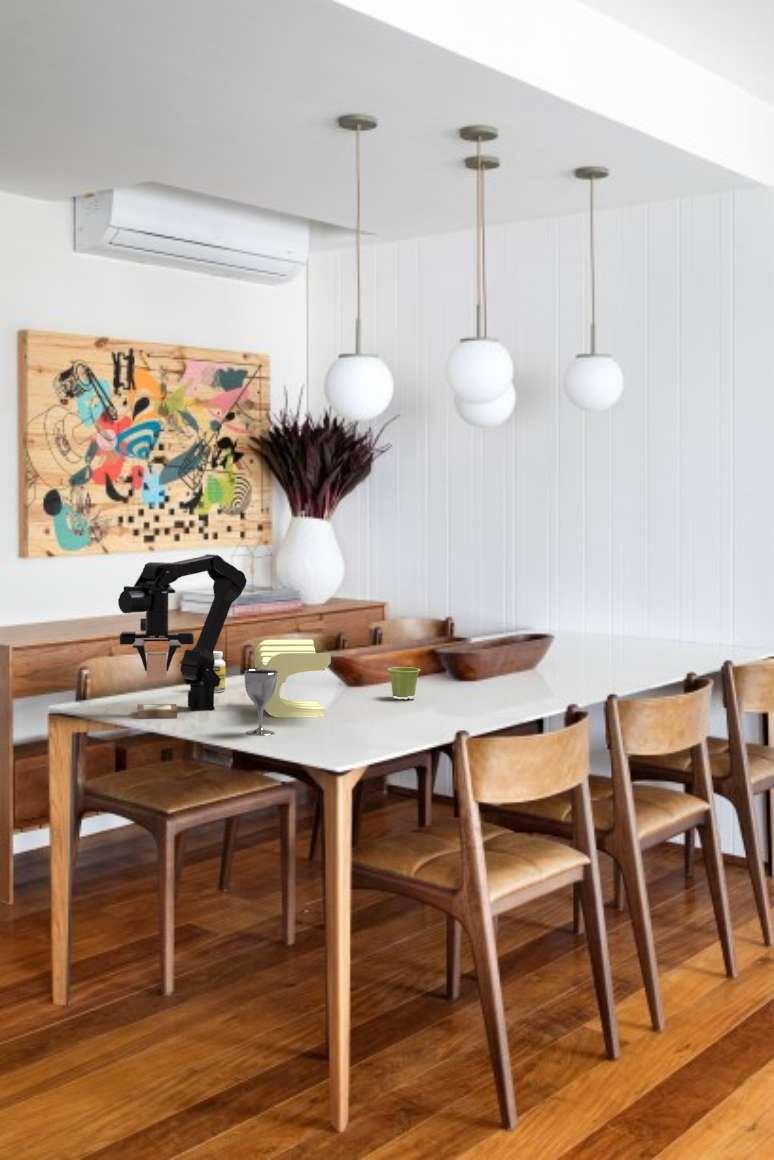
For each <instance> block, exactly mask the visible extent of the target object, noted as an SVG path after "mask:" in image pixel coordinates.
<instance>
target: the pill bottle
mask: <svg viewBox="0 0 774 1160" xmlns="http://www.w3.org/2000/svg"><path fill="white" fill-rule="evenodd" d="M213 654H214V661H215V664H214V668H213V670H214V672H215V673H216V674H217V675H218V676H219V678H220V679H221V680H220V684H219V686H218V687H214V694H215V693H216V694H218V693H219V692H220V693H224V692H225V691H226V662H225V661H224V660H223V659H222V658H223V654H224V653H223V651H221V650H220V651H218V650H214V652H213Z"/></svg>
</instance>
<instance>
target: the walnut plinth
mask: <svg viewBox="0 0 774 1160" xmlns="http://www.w3.org/2000/svg"><path fill="white" fill-rule="evenodd" d="M136 711H137V713H136V715H137V717H136V718H137V719H178V706H177V704H176V703H151V704H150V703H148V704H147V703H145V704H144V703H141V704H137V709H136Z"/></svg>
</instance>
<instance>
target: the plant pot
mask: <svg viewBox="0 0 774 1160" xmlns="http://www.w3.org/2000/svg"><path fill="white" fill-rule="evenodd" d="M387 671H388V673H389V677H390V683H391V693H392V697H393V696H397V697H408V696H414V695H415V696H416V691H417V690H416V689H417V682H418V677H419V674H420V672H421V669H420V668H416V667H411V666H410V667H408V666H407V667H406V666H405V667H404V666H399V667H389V668H387Z"/></svg>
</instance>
